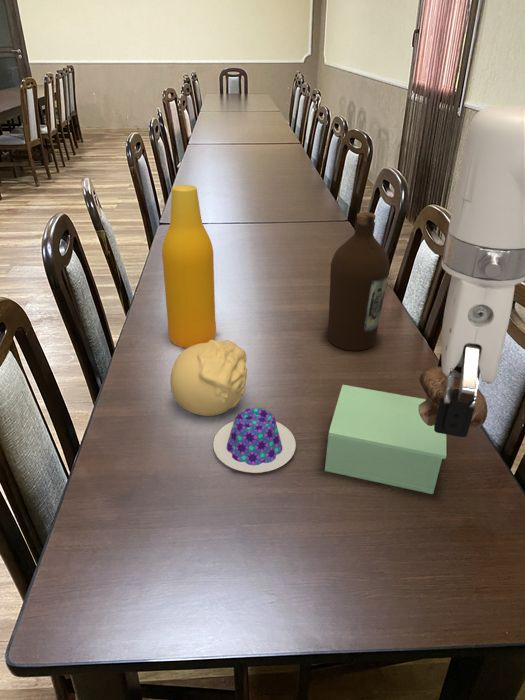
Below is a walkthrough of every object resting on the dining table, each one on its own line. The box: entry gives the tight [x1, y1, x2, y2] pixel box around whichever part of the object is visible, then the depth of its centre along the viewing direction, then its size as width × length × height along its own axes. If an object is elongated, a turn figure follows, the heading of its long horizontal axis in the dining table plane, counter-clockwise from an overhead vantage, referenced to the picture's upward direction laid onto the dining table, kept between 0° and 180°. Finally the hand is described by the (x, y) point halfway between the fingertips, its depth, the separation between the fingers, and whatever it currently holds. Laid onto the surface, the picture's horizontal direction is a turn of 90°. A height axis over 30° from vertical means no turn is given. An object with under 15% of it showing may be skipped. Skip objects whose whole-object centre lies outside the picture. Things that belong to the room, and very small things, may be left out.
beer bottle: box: [161, 184, 217, 349], centre depth 98 cm, size 9×9×29 cm
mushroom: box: [418, 366, 489, 429], centre depth 57 cm, size 8×8×6 cm
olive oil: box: [327, 211, 390, 352], centre depth 100 cm, size 11×11×25 cm
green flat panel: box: [327, 384, 447, 460], centre depth 74 cm, size 15×12×1 cm
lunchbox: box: [324, 436, 443, 495], centre depth 76 cm, size 15×12×6 cm
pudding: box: [212, 407, 297, 474], centre depth 77 cm, size 12×12×5 cm
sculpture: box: [169, 339, 248, 417], centre depth 84 cm, size 11×12×11 cm
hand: (449, 407), depth 58 cm, fingers closed on mushroom, 7 cm apart
